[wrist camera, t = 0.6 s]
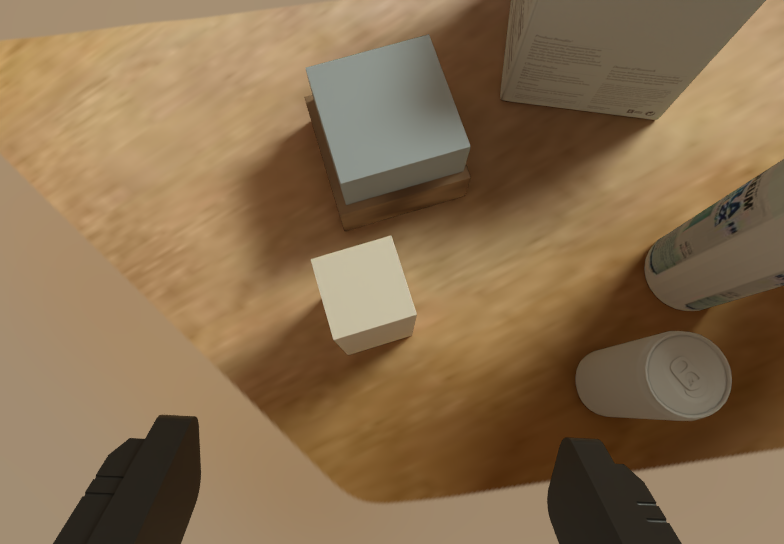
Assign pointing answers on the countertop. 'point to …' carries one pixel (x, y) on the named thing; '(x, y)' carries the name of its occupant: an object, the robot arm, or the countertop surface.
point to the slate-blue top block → (388, 119)
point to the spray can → (723, 248)
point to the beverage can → (656, 378)
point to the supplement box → (614, 51)
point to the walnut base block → (389, 202)
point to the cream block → (365, 295)
